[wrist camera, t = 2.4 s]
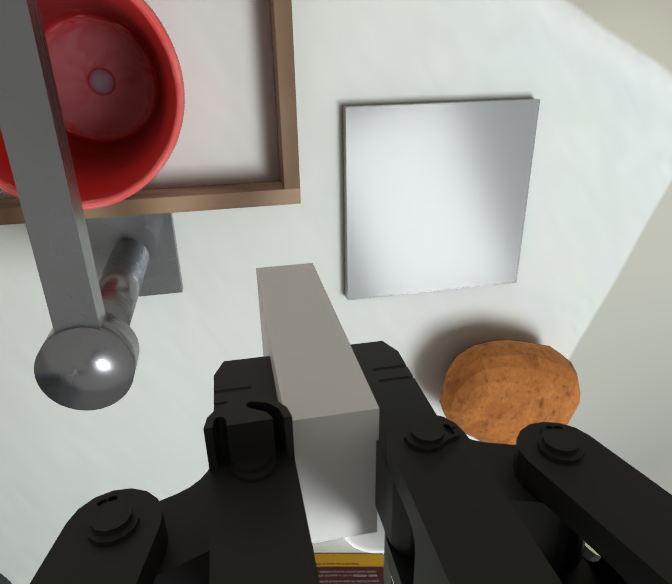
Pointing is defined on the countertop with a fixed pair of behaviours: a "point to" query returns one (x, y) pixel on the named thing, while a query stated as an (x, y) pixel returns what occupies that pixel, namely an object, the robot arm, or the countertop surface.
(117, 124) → the flower pot
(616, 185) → the countertop surface
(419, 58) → the countertop surface
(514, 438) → the potato
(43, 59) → the bar
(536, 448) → the robot arm
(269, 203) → the wooden tray
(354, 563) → the supplement box
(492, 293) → the countertop surface
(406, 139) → the plate
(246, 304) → the countertop surface
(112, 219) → the post
